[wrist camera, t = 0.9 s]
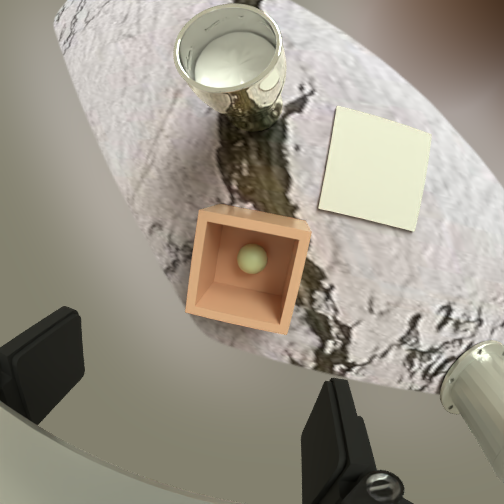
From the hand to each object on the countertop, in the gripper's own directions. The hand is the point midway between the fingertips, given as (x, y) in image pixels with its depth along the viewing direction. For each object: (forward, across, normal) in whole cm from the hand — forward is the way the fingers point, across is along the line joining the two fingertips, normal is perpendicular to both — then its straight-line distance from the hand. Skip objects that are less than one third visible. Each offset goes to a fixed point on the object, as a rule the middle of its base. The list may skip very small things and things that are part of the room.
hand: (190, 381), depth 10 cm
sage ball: (+21, 0, +1) cm, 21 cm away
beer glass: (+24, +3, -15) cm, 28 cm away
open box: (+23, 0, +1) cm, 23 cm away
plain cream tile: (+23, -11, -11) cm, 28 cm away
